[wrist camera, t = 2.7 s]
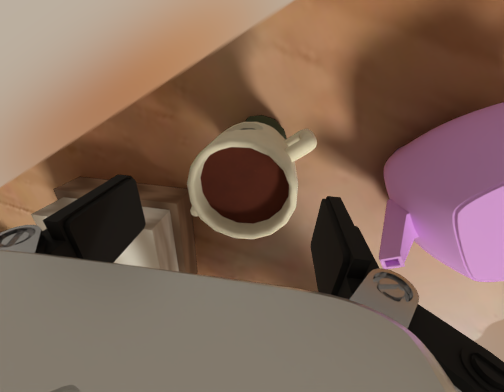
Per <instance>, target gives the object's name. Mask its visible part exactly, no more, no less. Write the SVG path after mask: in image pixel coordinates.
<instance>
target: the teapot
mask: <svg viewBox="0 0 504 392" xmlns="http://www.w3.org/2000/svg"><path fill="white" fill-rule="evenodd" d="M384 180H385V185H386V189H387V192H388V196H389V200H387V206H386V212H385V219H384V226H383V233H382V239H381V246H380V253H379V259H380V262H381V264H382V266H383V269H391V268H398V267H404V266H405V265H404V262H405V260H406V258H407V255H408V253H409V250H410V248H411V246H412V243H413V241H415V242H416V243H417V244H418V245H419V246H420V247H421V248H423V249H424V250H425V251H426V252H427V253H429V254H430V255H431V256H433V257H434V258H436V259H437V260H439V261H440V262H442V263H444V264H445V265H447V266H449V267H450V268H452V269H454V270H456V271H457V272H459V273H461V274H463V275H464V276H466V277H468V278H470V279H472V280H475V281H480V282H497V281H504V102H502V103H499V104H495V105H492V106H489V107H486V108H483V109H480V110H477V111H474V112H471V113H468V114H466V115H463V116H460V117H458V118H455V119H453V120H451V121H448V122H446V123H444V124H442V125H440V126H438V127H436V128H434V129H432V130H430V131H428V132H426V133H425V134H423V135H421V136H420V137H418V138H416V139H415V140H413V141H411V142H410V143H408V144H407V145H405V146H403V147H400V148H398V149H397V150H396V151H395V152H394V153H393V155H392V156H391V157H390V158H389V159H388V160H387V161H386V163H385V166H384Z"/></svg>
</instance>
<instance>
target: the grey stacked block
mask: <svg viewBox="0 0 504 392" xmlns="http://www.w3.org/2000/svg"><path fill="white" fill-rule="evenodd" d="M107 181H108V180H104V179H95V178H86V177H79V178H76V179H74V180H72V181H70V182H68V183H66V184H64V185H62V186H59V187H57V188H55V189H53V190H54V192H55V194H56V196H57V199H58V200H57V201H55V202H54V203H52V204H50V205H48V206H46V207H44V208H42V209H40V210H38V211H36V212H35V213H33V214H31V215H32V217H33V219H34V221H35V223H36V225H37V226H39V227H40V228H41V229H42V231H43V230H45V229H47V228H46V226H45V224H44V222H43V220H44V219H45V218H47V217H49V216H50V215H52V214H54V213H55V212H57V211H59V210H60V209H62V208H64V207H65V206H67V205H68V204H70V203H72V202H73V201H75V200H77V199H78V198H80V197H82V196H83V195H85V194H87V193H88V192H90V191H92V190H93V189H95V188H97V187H98V186H100V185H102V184H103V183H105V182H107ZM136 184H137V188H138V192H139V196H140V201H141V205H142V209H143V213H144V217H145V222H146V225H145V228H144V229H143V230H142V231H141V233H140V234H139V235H138V236H137V237H136V238H135V239H134V240H133V242H132V243H131V244H130V245H129V246H128V247H127V248H126V249H125V250H124V252H123V253H122V254H121V255H120V256H119V257H118V258H117V259H116V260H115V262H114V263H118V264H126V265H134V266H141V267H149V268H156V269H164V270H171V271H178V272H186V273H193V274H197V263H196V252H195V241H194V230H193V219H192V215H191V211H190V209H191V202H190V197H189V192H188V189H185V188H176V187H167V186H158V185H149V184H140V183H136Z"/></svg>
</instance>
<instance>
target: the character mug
mask: <svg viewBox="0 0 504 392" xmlns="http://www.w3.org/2000/svg"><path fill="white" fill-rule="evenodd" d="M316 145H317V139H316V137H315V135H314V134H313V132H312V131H311V130H309V129H304V130H301V131H299V132H297V133H295V134H294V135H292V136H291V137H289V138H288V139H287V138H286V135H285V131H284V129H283V128H282V127H281V126H280V125H279V124H278V123H277V121H276V120H275V119H272V118H269V117H266V116H263V115H259V116H250V117H249V118H247V120H246V122H242V123H239V124H236V125H233V126H232V127H230V128H228V129H226V130H225V131H224V132H223V133H221V134H220V135H219V136H217V137H216V138H215V139H214V140H213V141H212V142H211V143H210V144H209V145H208V146H206V147H205V148H204V149H203V150H202V151H201V152H200V153H199V154H198V155H197V157H196V158H195V160H194V161H193V163H192V165H191V166H190V171H189V176H188V181H187V187H188V192H189V197H190V202H191V204H192V207H191V209H190V211H191V215H193V216H196V217H197V216H199V217H200V219H201V220H202V221H204V222H205V223H206V224H207V225H209V226H210V227H211V228H212V229H214V230H215V231H217V232H219V233H222V234H225V235H227V236H230V237H232V238H240V239H257V238H260V237H264V236H268V235H272V234H273V233H274V232H276V231H277V230H279V229H280V228H281V227H283V226H284V225H285V224H287V222H288V220H289V219H290V217H291V215H292V213H293V212H294V210H295V208H296V202H297V192H298V179H297V173H296V167H295V161H296V160H297V159H299V158H301V157H303V156H304V155H306V154H308V153H309V152H311V151H312V150H313V149H314V148H315V147H316Z"/></svg>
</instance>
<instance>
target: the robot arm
mask: <svg viewBox="0 0 504 392" xmlns="http://www.w3.org/2000/svg"><path fill="white" fill-rule="evenodd" d="M43 222H44V224H45V226H46V228H47V229H45V230H43V231H42V229H41V228H40V227H39V226H36V225H24V226H19V227H15V228H11V229H9V230H6V231H3V232H1V233H0V392H504V362H503V361H501V360H500V359H499V358H497V357H496V356H495V355H493V354H492V353H491V352H489V351H488V350H486V349H485V348H483V347H482V346H480V345H478V344H477V343H476V342H474V341H473V340H471V339H470V338H468V337H467V336H465V335H464V334H462V333H461V332H459V331H458V330H456V329H455V328H453V327H452V326H450V325H449V324H447V323H446V322H444V321H443V320H441V319H440V318H438V317H437V316H435V315H434V314H432V313H431V312H429V311H427V310H426V309H424V308H423V307H421V306H420V305H418V302H419V295H418V293H417V290H416V289H415V287H414V286H413V285H412V284H411V283H410V282H409V281H408V280H407V279H406V278H404V277H403V276H401V275H400V274H398V273H395V272H393V271H391V270H387V269H380V268H379V266H378V265H377V263H376V261H375V259H374V257H373V255H372V253H371V251H370V249H369V247H368V245H367V243H366V241H365V239H364V237H363V235H362V234H361V232H360V230H359V228H358V227H356V226H354V224H353V222H352V220H351V218H350V216H349V214H348V212H347V210H346V208H345V206H344V204H343V202H342V200H341V198H340V197H331V196H327V198H326V199H322V201H321V205H320V209H319V213H318V217H317V221H316V225H315V229H314V233H313V237H312V241H311V252H312V258H313V264H314V269H315V275H316V280H317V286H318V292H314V291H309V290H303V289H297V288H292V287H284V286H277V285H271V284H264V283H257V282H250V281H243V280H236V279H229V278H222V277H215V276H207V275H200V274H193V273H186V272H178V271H171V270H164V269H156V268H149V267H141V266H134V265H126V264H118V263H114V262H115V260H116V259H117V258H118V257H119V256H120V255H121V254H122V253H123V252H124V250H125V249H126V248H127V247H128V246H129V245H130V244H131V243H132V242H133V240H134V239H135V238H136V237H137V236H138V235H139V234H140V233H141V231H142V230H143V229H144V228H145V225H146V222H145V217H144V213H143V209H142V205H141V201H140V196H139V192H138V188H137V184H136V181H135V180H134V179H133V178H132V177H131V176H126V175H116V176H115V177H113V178H112V179H110V180H108V181H107V182H105V183H103V184H102V185H100V186H98V187H97V188H95V189H93V190H92V191H90V192H88V193H87V194H85V195H83V196H82V197H80V198H78V199H77V200H75V201H73V202H72V203H70V204H68V205H67V206H65V207H64V208H62V209H60V210H59V211H57V212H55V213H54V214H52V215H50V216H49V217H47V218H45V219H44V220H43Z"/></svg>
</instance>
